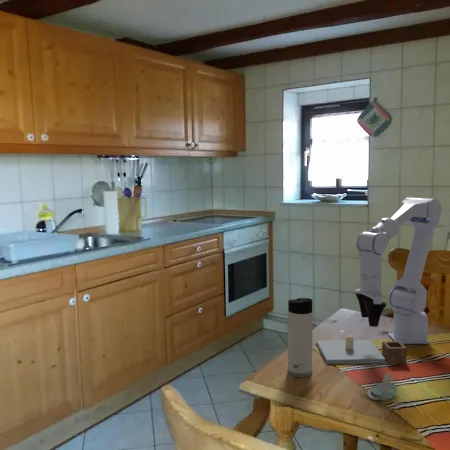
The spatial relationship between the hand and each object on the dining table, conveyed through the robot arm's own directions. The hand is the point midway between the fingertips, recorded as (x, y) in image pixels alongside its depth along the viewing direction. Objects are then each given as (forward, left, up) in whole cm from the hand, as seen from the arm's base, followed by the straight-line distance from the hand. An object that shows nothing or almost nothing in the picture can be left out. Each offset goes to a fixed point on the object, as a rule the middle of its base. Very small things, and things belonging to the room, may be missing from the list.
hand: (369, 321), depth 131 cm
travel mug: (+21, +12, -10) cm, 26 cm away
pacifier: (+5, +24, -10) cm, 27 cm away
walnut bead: (-6, +5, -10) cm, 12 cm away
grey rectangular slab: (+5, 0, -10) cm, 11 cm away
